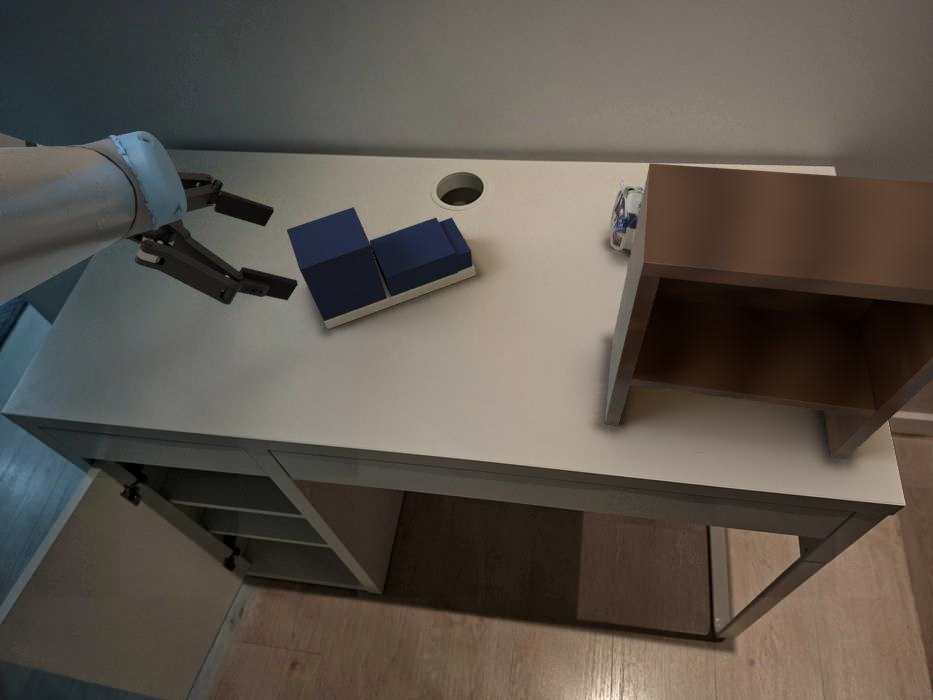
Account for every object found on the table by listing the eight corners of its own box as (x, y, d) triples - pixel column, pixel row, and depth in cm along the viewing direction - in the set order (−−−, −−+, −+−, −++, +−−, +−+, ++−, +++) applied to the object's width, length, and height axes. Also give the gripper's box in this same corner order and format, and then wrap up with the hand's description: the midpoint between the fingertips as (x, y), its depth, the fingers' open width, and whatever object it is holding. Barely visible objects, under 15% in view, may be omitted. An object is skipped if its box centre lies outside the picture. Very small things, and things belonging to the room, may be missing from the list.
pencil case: (608, 265, 83) (617, 213, 75) (607, 222, 88) (615, 169, 80) (773, 268, 81) (800, 215, 73) (762, 224, 85) (786, 169, 77)
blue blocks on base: (327, 329, 81) (300, 270, 71) (314, 288, 86) (286, 228, 76) (475, 275, 84) (469, 212, 75) (455, 238, 89) (446, 174, 79)
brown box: (604, 423, 70) (643, 262, 47) (612, 341, 76) (649, 163, 53) (845, 459, 65) (1021, 298, 42) (832, 367, 72) (978, 184, 48)
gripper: (68, 155, 67) (248, 211, 82) (72, 313, 54) (287, 347, 68) (87, 98, 64) (272, 168, 78) (96, 253, 50) (318, 302, 65)
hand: (280, 252), depth 73 cm, fingers open, 13 cm apart
